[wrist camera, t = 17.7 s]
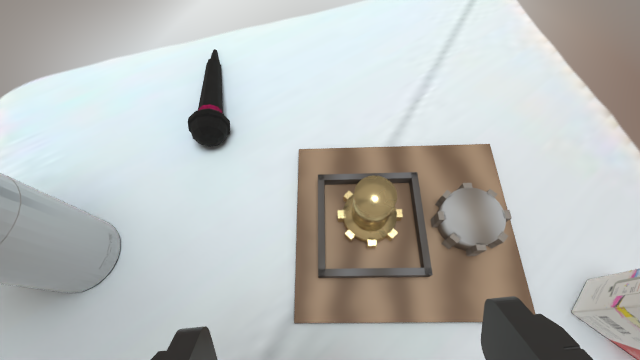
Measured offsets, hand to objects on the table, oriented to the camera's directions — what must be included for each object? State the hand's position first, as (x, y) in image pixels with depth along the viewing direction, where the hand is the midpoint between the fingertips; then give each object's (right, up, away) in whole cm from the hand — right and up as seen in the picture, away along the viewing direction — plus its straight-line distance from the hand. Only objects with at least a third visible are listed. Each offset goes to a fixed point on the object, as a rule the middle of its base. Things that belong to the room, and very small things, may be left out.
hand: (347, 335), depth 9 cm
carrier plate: (+9, -1, +31) cm, 32 cm away
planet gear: (+5, 0, +30) cm, 31 cm away
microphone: (-17, +17, +41) cm, 47 cm away
